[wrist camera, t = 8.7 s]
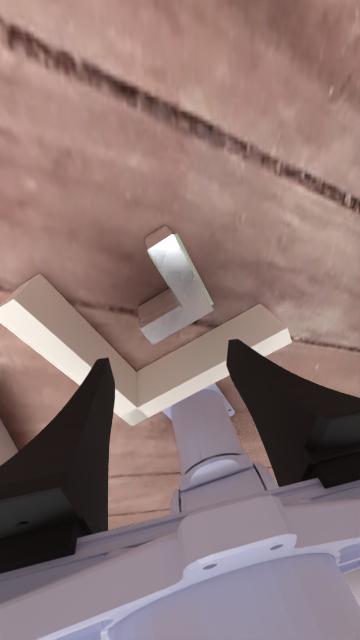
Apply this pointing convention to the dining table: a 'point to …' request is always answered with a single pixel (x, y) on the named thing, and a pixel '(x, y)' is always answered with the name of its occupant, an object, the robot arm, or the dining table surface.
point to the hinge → (6, 445)
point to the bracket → (171, 291)
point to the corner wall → (130, 386)
